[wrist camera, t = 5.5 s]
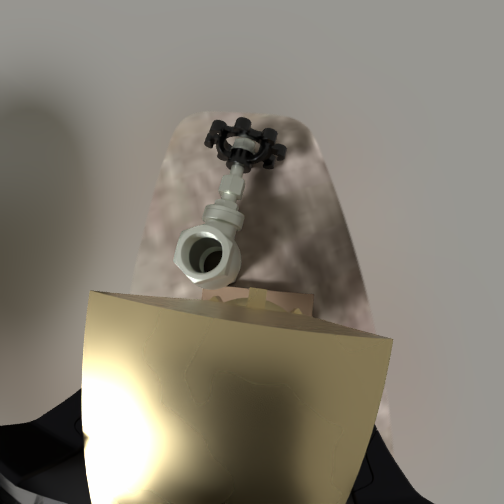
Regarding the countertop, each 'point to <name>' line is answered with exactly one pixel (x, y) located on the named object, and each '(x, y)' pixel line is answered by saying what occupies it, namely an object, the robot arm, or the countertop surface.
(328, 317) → the countertop surface
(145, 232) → the countertop surface
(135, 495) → the gold tall block
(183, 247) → the valve
